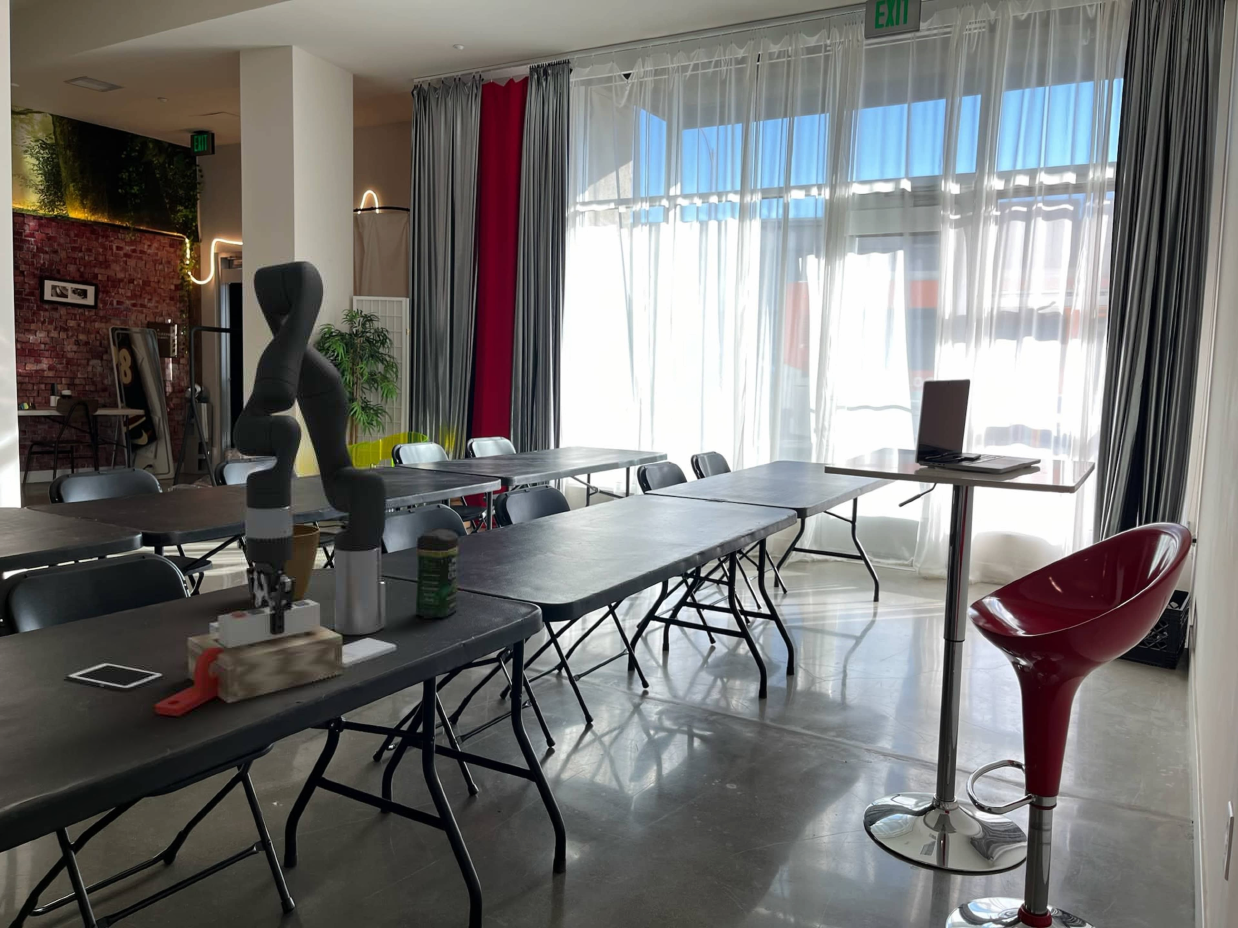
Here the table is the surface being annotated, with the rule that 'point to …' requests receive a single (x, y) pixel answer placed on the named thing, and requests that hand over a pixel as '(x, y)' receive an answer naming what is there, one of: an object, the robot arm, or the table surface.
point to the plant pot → (302, 557)
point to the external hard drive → (364, 651)
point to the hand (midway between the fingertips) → (271, 630)
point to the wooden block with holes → (269, 662)
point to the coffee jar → (437, 574)
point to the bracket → (194, 687)
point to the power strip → (266, 624)
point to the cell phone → (115, 677)
